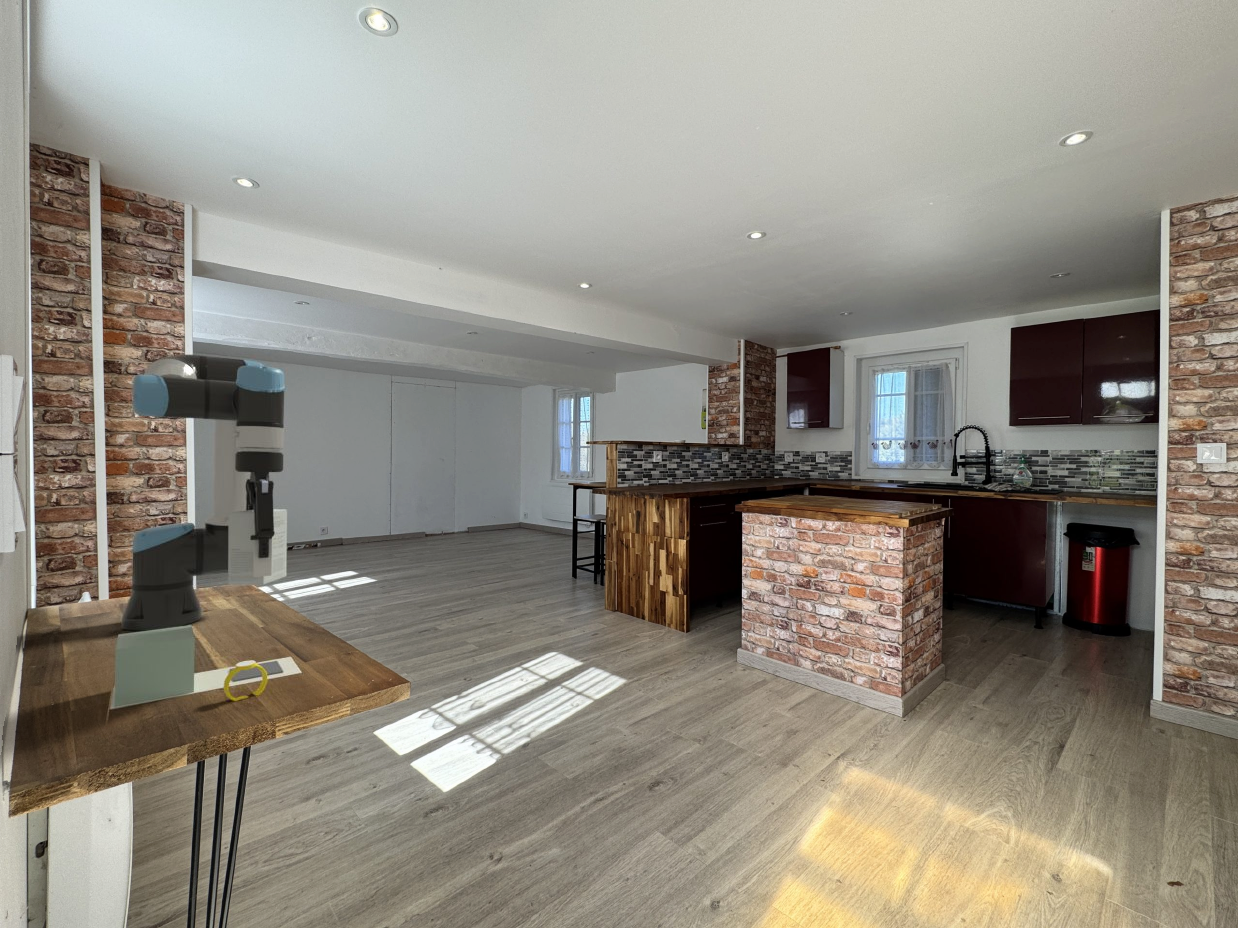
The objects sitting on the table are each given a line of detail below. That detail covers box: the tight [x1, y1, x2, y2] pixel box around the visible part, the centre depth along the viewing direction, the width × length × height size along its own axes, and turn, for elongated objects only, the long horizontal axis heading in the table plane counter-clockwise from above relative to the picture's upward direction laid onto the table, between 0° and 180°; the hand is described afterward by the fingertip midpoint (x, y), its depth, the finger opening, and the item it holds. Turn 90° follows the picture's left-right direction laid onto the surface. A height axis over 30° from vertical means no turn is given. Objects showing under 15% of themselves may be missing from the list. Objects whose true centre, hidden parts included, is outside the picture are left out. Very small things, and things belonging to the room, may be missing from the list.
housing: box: [114, 624, 196, 707], centre depth 97 cm, size 10×10×9 cm
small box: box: [227, 508, 288, 586], centre depth 106 cm, size 8×6×13 cm
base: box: [109, 656, 303, 710], centre depth 102 cm, size 11×26×1 cm, turn 129°
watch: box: [222, 659, 269, 702], centre depth 95 cm, size 6×3×6 cm, turn 141°
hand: (258, 571), depth 106 cm, fingers closed on small box, 10 cm apart
